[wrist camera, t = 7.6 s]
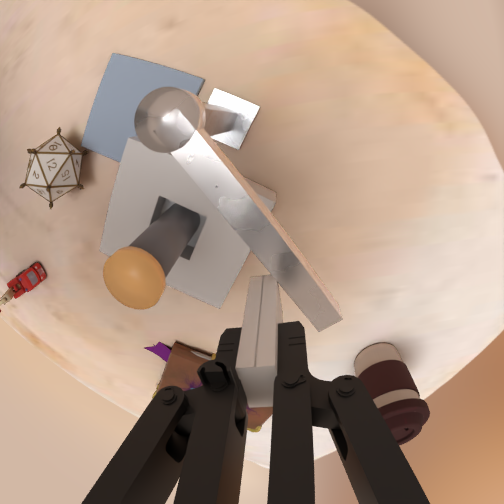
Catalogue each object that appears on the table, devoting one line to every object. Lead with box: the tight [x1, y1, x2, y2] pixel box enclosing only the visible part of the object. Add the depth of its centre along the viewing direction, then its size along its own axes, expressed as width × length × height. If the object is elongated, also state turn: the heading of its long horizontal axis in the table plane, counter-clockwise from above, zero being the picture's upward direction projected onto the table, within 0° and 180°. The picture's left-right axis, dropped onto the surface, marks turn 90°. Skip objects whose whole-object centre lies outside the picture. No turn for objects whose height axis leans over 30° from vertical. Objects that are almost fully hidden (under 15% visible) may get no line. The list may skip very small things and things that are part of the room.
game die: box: [19, 127, 88, 209], centre depth 27 cm, size 9×8×10 cm
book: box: [145, 342, 273, 432], centre depth 44 cm, size 16×25×5 cm, turn 67°
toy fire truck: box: [0, 262, 46, 312], centre depth 36 cm, size 3×14×10 cm, turn 112°
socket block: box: [100, 136, 276, 309], centre depth 31 cm, size 16×14×4 cm
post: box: [202, 88, 260, 150], centre depth 20 cm, size 5×5×16 cm
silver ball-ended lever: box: [134, 87, 342, 332], centre depth 14 cm, size 3×16×2 cm, turn 38°
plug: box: [103, 203, 200, 309], centre depth 26 cm, size 5×5×14 cm
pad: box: [81, 53, 205, 162], centre depth 27 cm, size 12×12×1 cm
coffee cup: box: [354, 343, 430, 445], centre depth 33 cm, size 10×10×15 cm
